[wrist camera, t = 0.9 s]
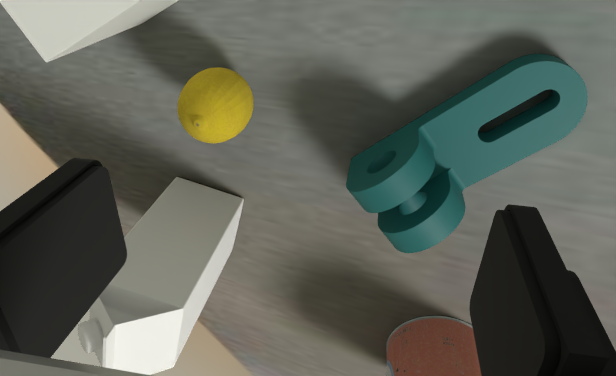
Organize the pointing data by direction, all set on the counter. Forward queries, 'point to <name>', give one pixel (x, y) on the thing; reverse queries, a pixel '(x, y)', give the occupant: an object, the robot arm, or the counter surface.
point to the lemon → (215, 105)
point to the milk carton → (163, 279)
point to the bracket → (462, 148)
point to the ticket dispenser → (77, 21)
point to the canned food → (432, 348)
